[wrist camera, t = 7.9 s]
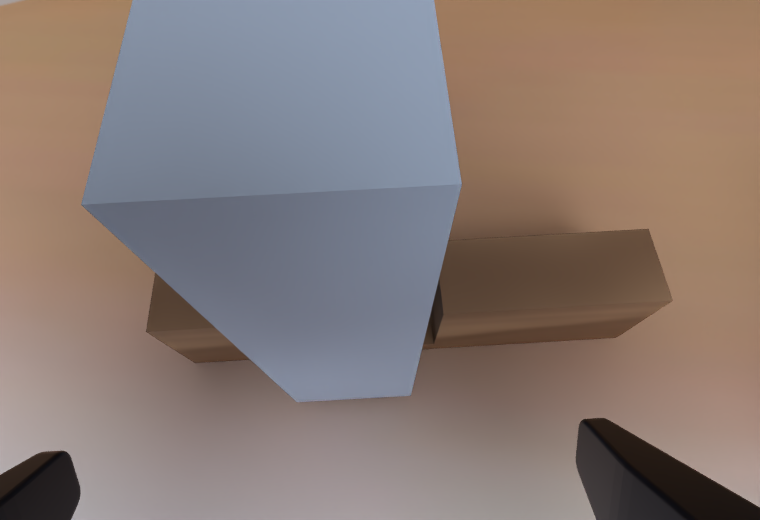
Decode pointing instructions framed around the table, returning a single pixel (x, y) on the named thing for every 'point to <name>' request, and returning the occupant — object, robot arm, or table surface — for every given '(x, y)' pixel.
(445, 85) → the pale blue block
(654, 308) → the notched walnut block
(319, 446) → the table surface
